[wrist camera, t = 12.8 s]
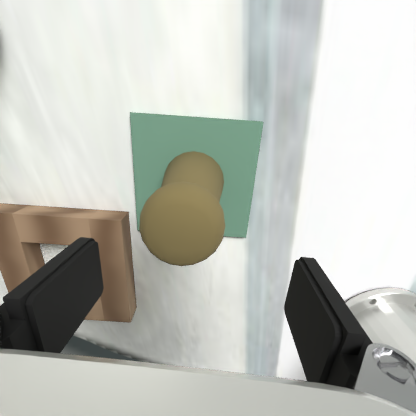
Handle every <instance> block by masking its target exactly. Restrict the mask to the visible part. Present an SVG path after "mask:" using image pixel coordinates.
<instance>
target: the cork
mask: <svg viewBox="0 0 416 416" xmlns="http://www.w3.org/2000/svg"><path fill="white" fill-rule="evenodd" d="M223 186H224V177H223V172H222V170H221V168H220V166H219V164H218V163H217V162H216V161H215V160H214V159H213V158H212V157H210V156H208V155H206V154H205V153H201V152H195V151H192V152H185V153H182V154H180V155H178V156H176V157H175V158H174V159H173V160H172V161H171V162H170V163H169V164H168V166H167V169H166V171H165V174H164V178H163V182H162V186H161V188H159V189H157V190H156V191H155V192H154V193H153V194H152V195H151V196H150V197H149V198H148V199H147V201H146V202H145V204H144V206H143V209H142V211H141V213H140V226H139V230H140V233H141V237H142V240H143V242H144V243H145V245H146V246H147V248H148V249H149V251H150V252H151V253H152V254H153V255H154V256H156V257H157V258H158V259H160V260H162V261H164V262H166V263H169V264H172V265H179V266H186V265H193V264H196V263H198V262H201V261H203V260H205V259H207V258H208V257H209V256H210V255H212V254H213V253H214V252H215V251H216V249H217V248H218V246H219V245H220V243H221V241H222V239H223V235H224V231H225V219H224V212H223V209H222V207H221V205H220V203H219V202H220V198H221V194H222V191H223Z"/></svg>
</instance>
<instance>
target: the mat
mask: <svg viewBox="0 0 416 416" xmlns="http://www.w3.org/2000/svg"><path fill="white" fill-rule="evenodd" d="M130 121H131V136H132V151H133V166H134V182H135V197H136V212H137V228H138V231H140V230H139V226H140V213H141V211H142V209H143V206H144V204H145V202H146V201H147V199H148V198H149V197H150V196H151V195H152V194H153V193H154V192H155V191H156V190H157V189H159V188H161V186H162V182H163V178H164V174H165V171H166V169H167V166H168V164H169V163H170V162H171V161H172V160H173V159H174V158H175V157H176V156H178V155H180V154H182V153H185V152H192V151H195V152H201V153H205V154H206V155H208V156H210V157H212V158H213V159H214V160H215V161H216V162H217V163H218V164H219V166H220V168H221V170H222V172H223V177H224V186H223V191H222V194H221V198H220V202H219V203H220V205H221V207H222V209H223V212H224V219H225V231H224V235H223V236H229V237H245V238H246V234H247V227H248V221H249V214H250V208H251V201H252V194H253V188H254V181H255V174H256V168H257V161H258V154H259V148H260V141H261V134H262V128H263V122H260V121H246V120H232V119H217V118H203V117H189V116H175V115H161V114H146V113H132V112H130Z"/></svg>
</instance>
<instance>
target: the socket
mask: <svg viewBox="0 0 416 416" xmlns="http://www.w3.org/2000/svg"><path fill="white" fill-rule="evenodd" d="M80 237H86V238H93V239H94V240H95V241H96V242H98V246H99V254H100V262H101V270H102V278H103V286H104V289H103V293H102V295H101V296H100V298H99V299H98V301H97V302H96V303H95V305H94V306H93V308H92V309H91V310H90V312H89V313H88V315H87V316H86V317H85V319H84V320H99V321H116V322H131V320H132V318H133V315H134V313H135V310H136V298H135V286H134V274H133V261H132V249H131V236H130V224H129V212H122V211H107V210H92V209H77V208H62V207H47V206H31V205H16V204H1V203H0V271H1V273H2V276H3V279H4V282H5V284H6V287H7V290H8V292H11V291H12V290H13V289H14V288H16V287H17V286H18V285H19V284H21V283H22V282H23V281H25V280H26V279H27V278H28V277H30V276H31V275H32V274H33V273H35V272H36V271H37V270H39V269H40V268H41V267H42V266H44V265H45V264H44V260H43V256H42V252H41V249H40V245H39V243H44V244H60V245H70V244H72V243H73V242H74V241H75V240H77V239H78V238H80Z"/></svg>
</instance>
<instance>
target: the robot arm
mask: <svg viewBox="0 0 416 416" xmlns="http://www.w3.org/2000/svg"><path fill="white" fill-rule="evenodd" d="M103 289H104V286H103V278H102V270H101V262H100V254H99V246H98V242H96V241H95V240H94V239H93V238H86V237H80V238H78V239H77V240H75V241H74V242H73V243H72V244H70V245H69V246H68V247H67V248H65V249H64V250H63V251H61V252H60V253H59V254H58V255H56V256H55V257H54V258H53V259H51V260H50V261H49V262H47V263H46V264H45V265H44V266H42V267H41V268H40V269H39V270H37V271H36V272H35V273H33V274H32V275H31V276H30V277H28V278H27V279H26V280H25V281H23V282H22V283H21V284H19V285H18V286H17V287H16V288H14V289H13V290H12V291H11V292H9V293H8V294H7V295H5V296H4V297H3V301H4V303H3V304H2V305H1V306H0V416H416V294H415V293H413V292H411V291H409V290H404V289H400V288H381V289H375V290H371V291H367V292H364V293H362V294H359V295H357V296H355V297H353V298H351V299H350V300H348V301H347V302H344V300H343V299H342V297H341V296H340V294H339V293H338V292H337V290H336V289H335V287H334V286H333V285H332V283H331V282H330V280H329V279H328V277H327V276H326V274H325V273H324V271H323V270H322V269H321V267H320V266H319V264H318V263H317V261H316V260H315V259H314V258H306V257H300V259H299V260H296V261H295V264H294V268H293V272H292V276H291V280H290V284H289V289H288V293H287V297H286V301H285V306H284V311H285V315H286V318H287V321H288V324H289V327H290V330H291V333H292V336H293V339H294V342H295V345H296V348H297V351H298V354H299V357H300V360H301V363H302V366H303V369H304V372H305V376H306V379H307V381H301V380H293V379H286V378H278V377H270V376H262V375H253V374H244V373H236V372H227V371H219V370H210V369H201V368H192V367H183V366H174V365H165V364H156V363H147V362H137V361H128V360H119V359H109V358H100V357H90V356H80V355H71V354H61V353H60V352H61V351H62V350H63V348H64V347H65V345H66V344H67V343H68V341H69V340H70V338H71V337H72V336H73V334H74V333H75V331H76V330H77V329H78V327H79V326H80V324H81V323H82V322H83V320H84V319H85V317H86V316H87V315H88V313H89V312H90V310H91V309H92V308H93V306H94V305H95V303H96V302H97V301H98V299H99V298H100V296H101V295H102V293H103Z"/></svg>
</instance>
